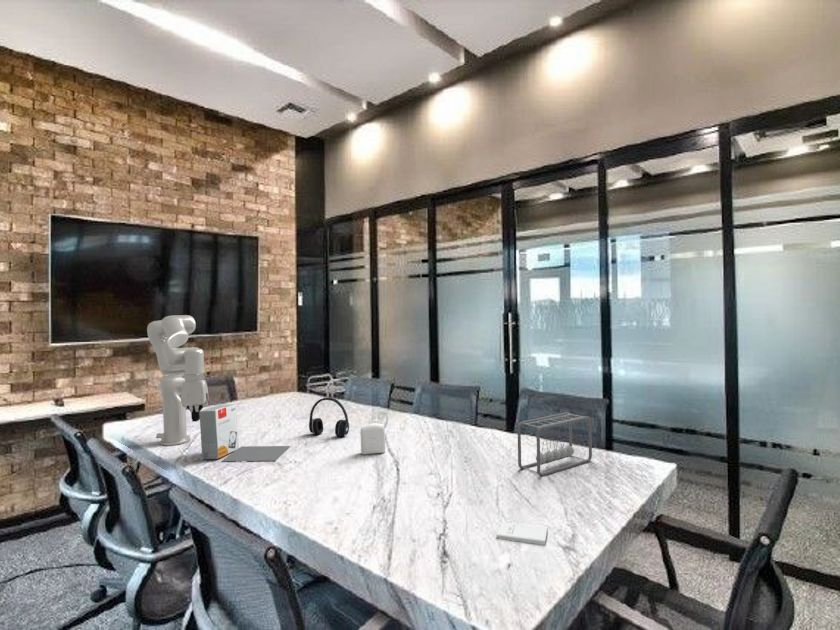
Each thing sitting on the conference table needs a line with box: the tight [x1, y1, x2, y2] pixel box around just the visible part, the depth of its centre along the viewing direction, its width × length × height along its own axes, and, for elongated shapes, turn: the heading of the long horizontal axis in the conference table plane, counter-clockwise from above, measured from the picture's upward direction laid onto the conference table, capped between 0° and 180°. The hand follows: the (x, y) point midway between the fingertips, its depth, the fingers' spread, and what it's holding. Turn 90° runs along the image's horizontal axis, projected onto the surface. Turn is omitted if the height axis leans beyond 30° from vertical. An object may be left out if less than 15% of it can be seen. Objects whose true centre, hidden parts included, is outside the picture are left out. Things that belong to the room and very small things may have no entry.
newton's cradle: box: [517, 411, 593, 477], centre depth 179 cm, size 30×10×18 cm, turn 123°
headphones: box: [308, 397, 350, 438], centre depth 227 cm, size 20×7×18 cm, turn 71°
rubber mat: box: [221, 445, 291, 463], centre depth 200 cm, size 22×20×1 cm
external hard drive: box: [496, 521, 549, 546], centre depth 125 cm, size 2×8×12 cm
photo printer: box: [360, 422, 386, 455], centre depth 199 cm, size 10×4×12 cm, turn 100°
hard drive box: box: [199, 403, 240, 460], centre depth 201 cm, size 16×8×20 cm, turn 168°
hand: (195, 420), depth 201 cm, fingers closed
